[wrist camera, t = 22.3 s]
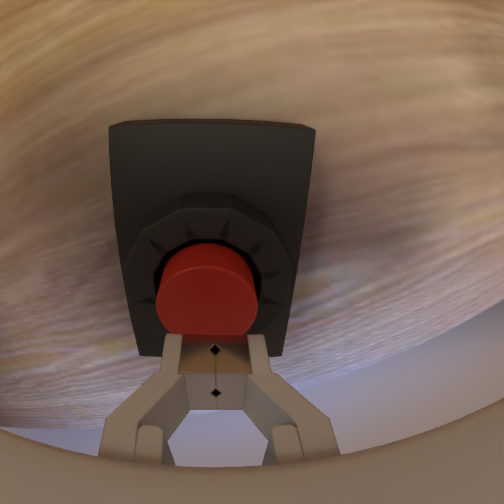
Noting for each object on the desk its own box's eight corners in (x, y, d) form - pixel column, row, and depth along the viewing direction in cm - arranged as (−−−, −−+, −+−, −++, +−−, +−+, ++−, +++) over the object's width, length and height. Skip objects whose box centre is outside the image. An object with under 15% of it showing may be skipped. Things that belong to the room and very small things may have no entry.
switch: (250, 317, 13) (254, 346, 12) (166, 317, 13) (161, 345, 11) (256, 242, 11) (262, 267, 10) (158, 241, 11) (150, 265, 10)
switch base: (275, 330, 19) (287, 381, 15) (145, 330, 18) (134, 380, 14) (302, 124, 13) (332, 135, 9) (124, 121, 12) (89, 131, 8)
